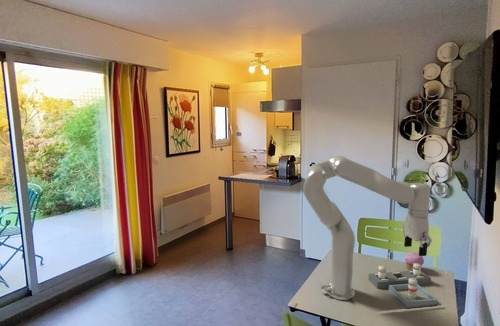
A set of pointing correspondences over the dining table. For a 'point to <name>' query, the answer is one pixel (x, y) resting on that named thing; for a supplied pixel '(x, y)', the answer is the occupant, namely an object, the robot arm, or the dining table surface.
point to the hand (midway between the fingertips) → (414, 250)
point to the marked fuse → (412, 288)
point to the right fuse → (416, 269)
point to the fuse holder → (398, 279)
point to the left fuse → (382, 272)
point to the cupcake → (413, 260)
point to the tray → (428, 301)
